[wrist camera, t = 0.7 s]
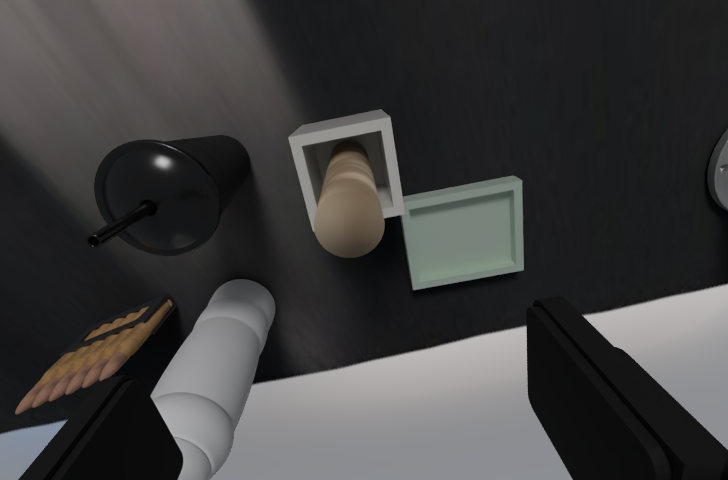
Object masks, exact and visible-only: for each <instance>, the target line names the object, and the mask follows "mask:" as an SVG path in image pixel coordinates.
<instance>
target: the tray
mask: <svg viewBox="0 0 728 480" xmlns="http://www.w3.org/2000/svg"><path fill="white" fill-rule="evenodd" d="M403 204H404V210H405V214H404V215H400V218H401V225H402V231H403V237H404V244H405V250H406V256H407V262H408V269H409V275H410V281H411V285H412V288H413V290H418V289H423V288H429V287H434V286H440V285H445V284H451V283H456V282H462V281H467V280H473V279H478V278H484V277H489V276H495V275H500V274H506V273H511V272H517V271H522V270H524V260H523V209H522V180H521V179H519V178H517V177H515V176H509V177H503V178H498V179H493V180H488V181H483V182H477V183H472V184H467V185H462V186H456V187H451V188H446V189H441V190H436V191H430V192H425V193H420V194H415V195H410V196H404V197H403Z"/></svg>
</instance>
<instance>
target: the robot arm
mask: <svg viewBox="0 0 728 480" xmlns="http://www.w3.org/2000/svg"><path fill="white" fill-rule="evenodd" d="M707 182H708V187H709V192H710V194H711V196H712V198H713V200H714V201H715V202H716V203H717V204H718V205H719V206H720V207H721V208H723V209H725V210H726V211H728V129H727V130H726V131H725V133H724V134H723V135H722V137H721V138H720V140H719V142H718V143H717V145H716V147H715V149H714V152H713V154H712V156H711V159H710V163H709V167H708V179H707ZM526 315H527V371H528V397H529V401H530V404H531V406H532V408H533V410H534V412H535V414H536V416H537V417H538V419H539V421H540V423H541V424H542V426H543V428H544V430H545V431H546V433H547V435H548V437H549V438H550V440H551V442H552V444H553V445H554V447H555V449H556V451H557V452H558V454H559V456H560V458H561V459H562V461H563V463H564V465H565V466H566V468H567V470H568V472H569V474H570V475H571V477H572V479H573V480H728V450H727V449H726V448H725V447H724V446H723V445H722V444H721V443H720V442H719V441H718V440H716V438H714V437H713V436H712V435H711V434H710V433H709V432H708V431H707V430H706V429H705V428H704V427H703V426H702V425H701V424H700V423H699V422H698V421H697V420H696V419H695V418H694V417H693V416H692V415H691V414H689V412H688V411H686V410H685V409H684V408H683V407H682V406H681V405H680V404H679V403H678V402H677V401H676V400H675V399H674V398H673V397H672V396H671V395H670V394H669V393H668V392H667V391H666V390H665V389H663V388H662V386H661V385H659V384H658V383H657V382H656V381H655V380H654V379H653V378H652V377H651V376H650V375H649V374H648V373H647V372H646V371H645V370H644V369H643V368H642V367H641V366H640V365H639V364H638V363H636V362H635V360H634V359H632V358H631V357H630V356H629V355H628V354H627V353H626V352H624V351H623V350H622V349H619V348H617V347H614V346H613V345H612V344H611V343H609V341H608V340H606V339H605V338H604V337H603V336H602V335H601V334H600V333H599V332H598V331H597V330H596V329H595V328H594V327H593V326H592V325H591V324H590V323H589V322H588V321H587V320H586V319H585V318H584V317H583V316H582V315H581V314H580V313H579V312H578V311H577V310H576V309H575V308H574V307H573V306H572V305H571V304H570V303H569V302H568V301H567V300H566V299H565V298H564V297H562V296H555V297H550V298H544V299H539V300H535V301H534V303H533V307H530V308H528V309H527V313H526ZM182 467H183V454H182V452H181V450H180V448H179V446H178V445H177V443H176V441H175V439H174V437H173V436H172V434H171V432H170V430H169V428H168V427H167V425H166V423H165V421H164V420H163V418H162V416H161V414H160V412H159V411H158V409H157V407H156V405H155V403H154V402H153V400H152V398H151V396H150V394H149V393H148V391H147V389H146V387H145V386H144V384H143V382H142V381H141V380H139V379H136V378H135V376H133V375H122V376H116V377H111V378H106V379H104V380H102V381H101V382H99V383H98V385H97V386H96V387H95V388H94V389H93V391H92V392H91V393H90V394H89V395H88V397H87V398H86V399H85V400H84V401H83V403H82V404H81V405H80V406H79V407H78V409H77V410H76V411H75V412H74V413H73V415H72V416H71V417H70V418H69V419H68V421H67V422H66V423H65V424H64V425H63V427H62V428H61V429H60V430H59V432H58V433H57V434H56V435H55V436H54V437H53V439H52V440H51V441H50V442H49V443H48V445H47V446H46V447H45V448H44V450H43V451H42V452H41V453H40V455H39V456H38V457H37V458H36V459H35V460H34V462H33V463H32V464H31V465H30V466H29V468H28V469H27V470H26V471H25V472H24V474H23V475H22V476H21V477H20V478H19V480H178V478H179V475H180V473H181V470H182Z"/></svg>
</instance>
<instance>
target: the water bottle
mask: <svg viewBox="0 0 728 480" xmlns="http://www.w3.org/2000/svg"><path fill="white" fill-rule="evenodd" d="M274 315H275V302H274V299H273V297H272V295H271V294H270V292H269V291H268V290H267V289H266V288H265V287H264V286H262V285H261V284H259V283H257V282H254V281H251V280H246V279H236V280H231V281H229V282H226V283H225V284H223V285H221V286H220V287H219V288H218V289H217V290H216V292H215V293H214V295H213V296H212V298H211V300H210V301H209V304H208V306H207V308H206V309H205V310H204V311H203V313H202V314H201V315H200V317H199V318H198V320H197V322H196V324H195V326H194V328H193V331H192V332H191V334H190V335H189V336H188V337H187V339H186V340H185V341H184V343H183V344H182V345H181V347H180V348H179V350H178V351H177V353H176V354H175V356H174V357H173V359H172V360H171V362H170V363H169V365H168V367H167V368H166V370H165V371H164V373H163V375H162V376H161V378H160V380H159V381H158V383H157V385H156V387H155V388H154V390H153V392H152V394H151V398H152V400H153V402H154V403H155V405H156V407H157V409H158V411H159V412H160V414H161V416H162V418H163V420H164V421H165V423H166V425H167V427H168V428H169V430H170V432H171V434H172V436H173V437H174V439H175V441H176V443H177V445H178V446H179V448H180V450H181V452H182V454H183V467H182V470H181V473H180V475H179V478H178V480H209V479H210V478H211V477H212V476H213V475H214V474H215V473H216V472H217V471H218V470H219V469H220V468H221V466H222V465H223V464H224V462H225V461H226V459H227V457H228V455H229V453H230V451H231V448H232V444H233V439H234V431H235V428H236V426H237V424H238V421H239V419H240V417H241V414H242V412H243V409H244V406H245V403H246V401H247V398H248V394H249V392H250V389H251V386H252V382H253V379H254V376H255V372H256V368H257V364H258V360H259V355H260V354H261V352H262V350H263V348H264V345H265V343H266V339H267V335H268V331H269V329H270V327H271V324H272V322H273V319H274Z"/></svg>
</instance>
